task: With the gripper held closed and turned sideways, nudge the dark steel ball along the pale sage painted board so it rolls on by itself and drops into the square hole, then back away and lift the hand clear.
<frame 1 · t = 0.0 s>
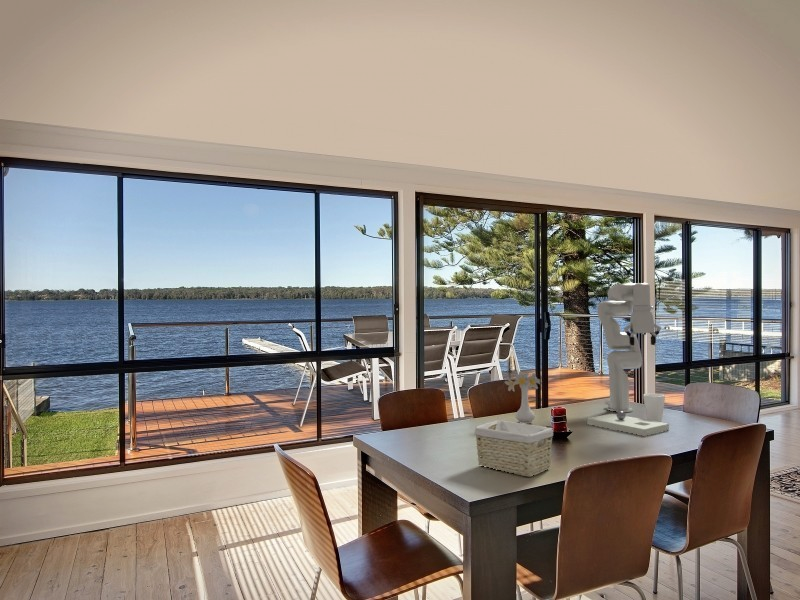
hand: (642, 345, 266), 37 cm above the table, tool pointing down, fingers open, 9 cm apart
storage basket: (514, 468, 199), on the table
foam cup: (654, 422, 268), on the table
flower vase: (525, 423, 272), on the table
hole board: (626, 427, 258), on the table
steel ball: (621, 415, 261), point 5 cm above the table, touching hole board
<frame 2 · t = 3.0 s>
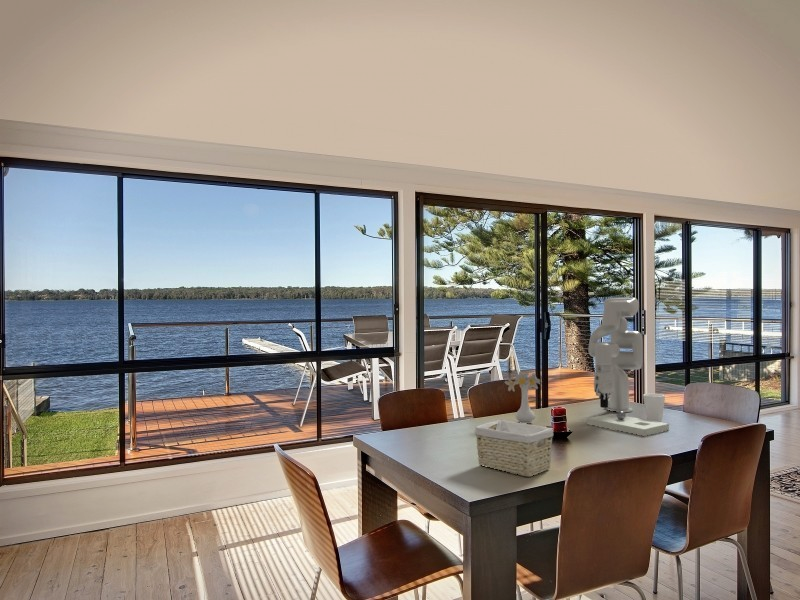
hand: (604, 407, 268), 8 cm above the table, tool pointing down, fingers closed
nothing on the table moved.
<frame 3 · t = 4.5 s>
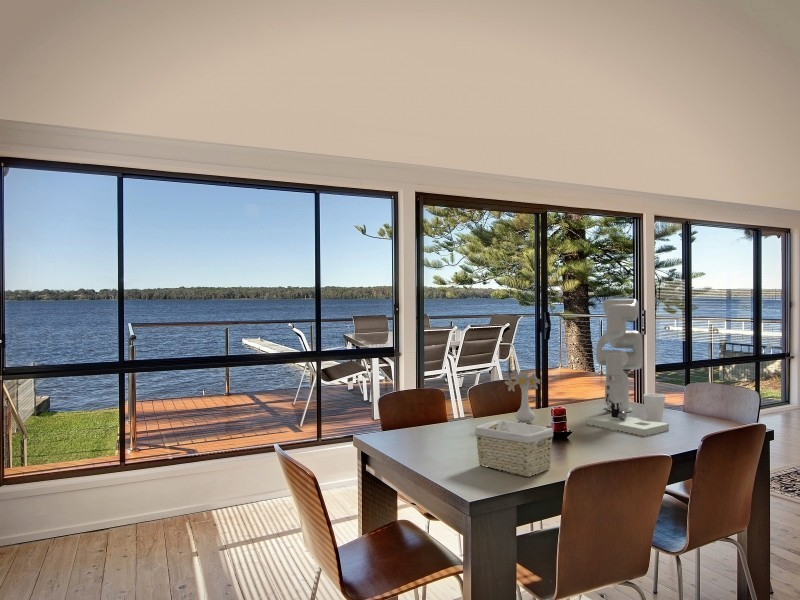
hand: (615, 417, 263), 4 cm above the table, tool pointing down, fingers closed
steel ball: (622, 415, 260), point 5 cm above the table, tilted 14°, touching hole board
everything else where it was.
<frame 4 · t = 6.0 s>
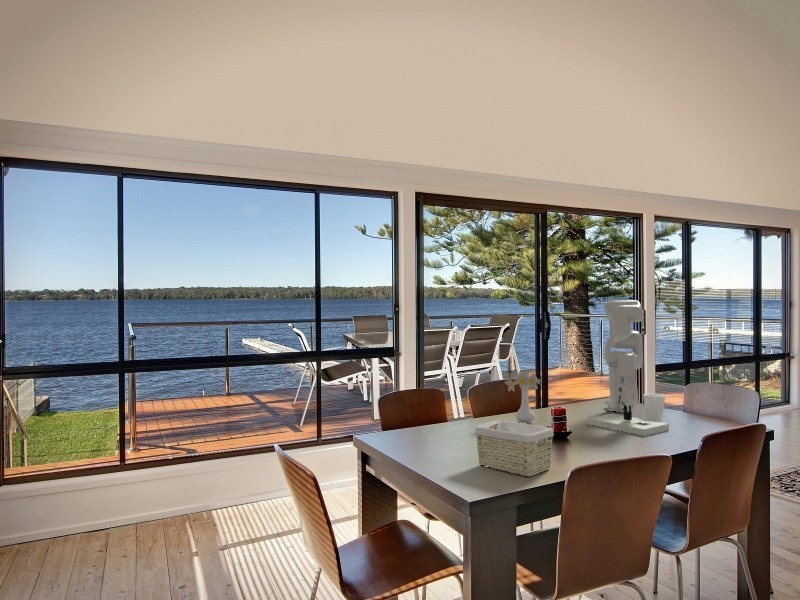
hand: (627, 419, 258), 4 cm above the table, tool pointing down, fingers closed
steel ball: (642, 426, 251), point 2 cm above the table, tilted 35°
everything else where it was.
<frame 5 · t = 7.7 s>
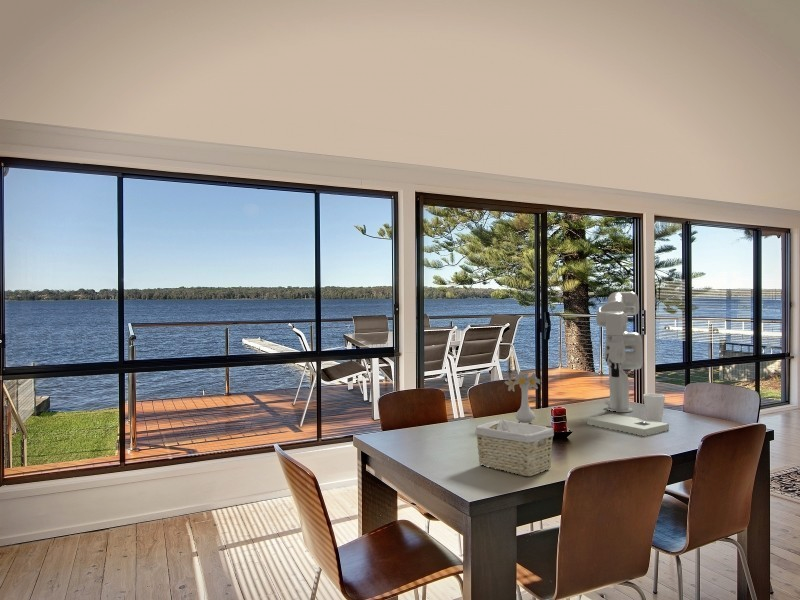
hand: (615, 376, 268), 22 cm above the table, tool pointing down, fingers closed
steel ball: (643, 426, 252), point 2 cm above the table, tilted 57°
everything else where it was.
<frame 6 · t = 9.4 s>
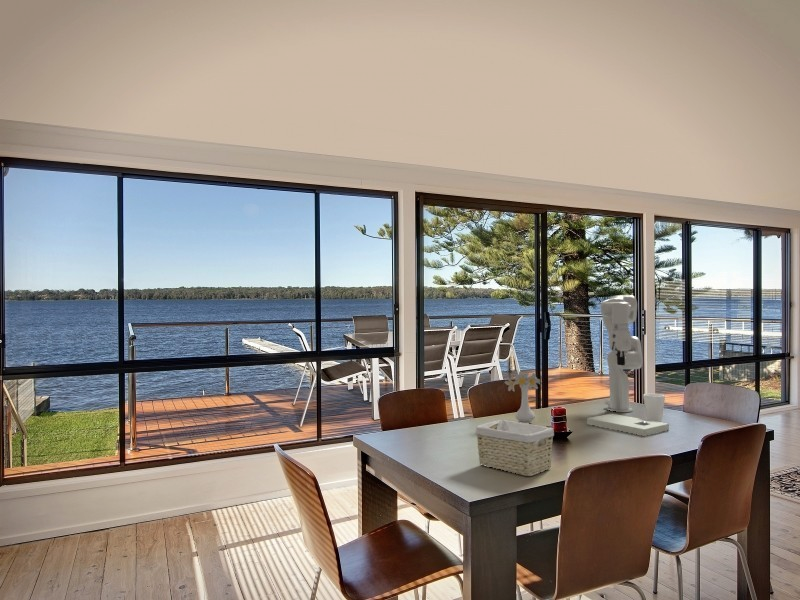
hand: (621, 364, 274), 27 cm above the table, tool pointing down, fingers closed
steel ball: (644, 425, 252), point 2 cm above the table, tilted 63°
everything else where it was.
at the end: steel ball 0.8 cm from the target spot on the hole board, point 2.0 cm above the hole board's base; the gripper is holding nothing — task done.
